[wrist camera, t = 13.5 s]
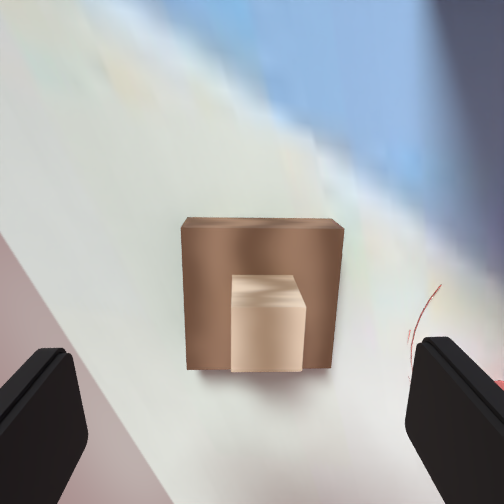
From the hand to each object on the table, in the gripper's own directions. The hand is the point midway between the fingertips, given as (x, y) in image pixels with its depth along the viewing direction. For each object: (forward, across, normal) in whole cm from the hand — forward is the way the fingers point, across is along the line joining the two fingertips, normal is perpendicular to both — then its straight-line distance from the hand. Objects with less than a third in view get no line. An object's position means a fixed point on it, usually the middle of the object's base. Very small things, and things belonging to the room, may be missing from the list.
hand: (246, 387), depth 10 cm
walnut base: (+23, -1, +7) cm, 24 cm away
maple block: (+19, -1, +7) cm, 20 cm away
